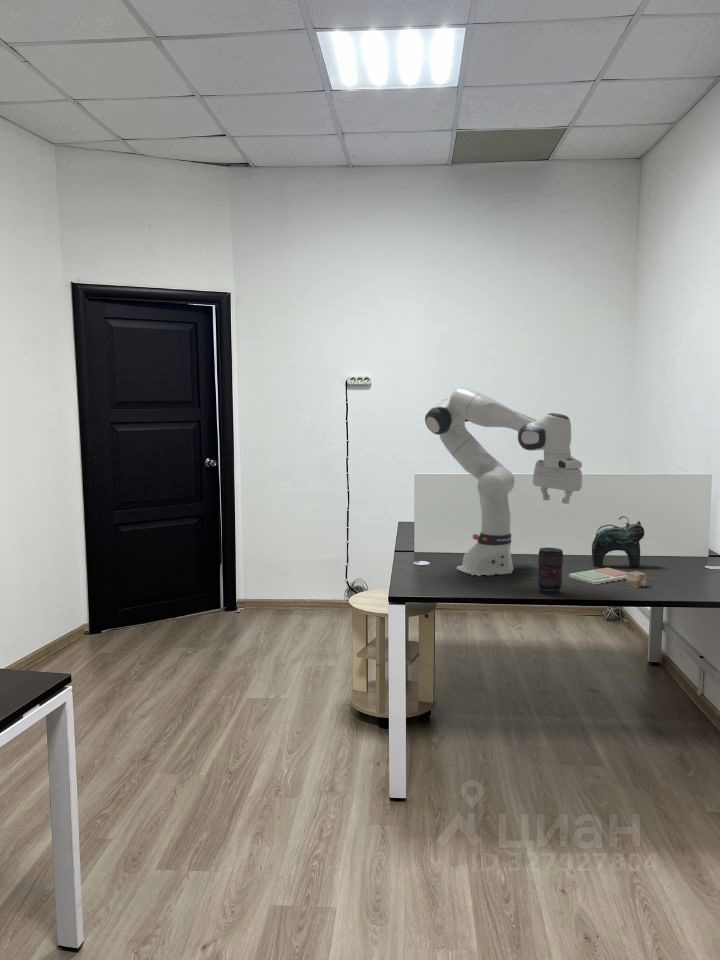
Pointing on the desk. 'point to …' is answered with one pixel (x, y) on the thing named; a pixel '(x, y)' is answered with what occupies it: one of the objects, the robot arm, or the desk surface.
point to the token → (636, 579)
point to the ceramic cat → (618, 542)
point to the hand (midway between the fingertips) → (555, 501)
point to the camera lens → (550, 570)
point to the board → (600, 575)
